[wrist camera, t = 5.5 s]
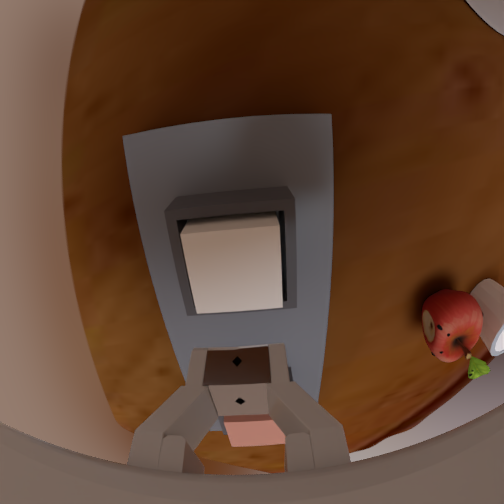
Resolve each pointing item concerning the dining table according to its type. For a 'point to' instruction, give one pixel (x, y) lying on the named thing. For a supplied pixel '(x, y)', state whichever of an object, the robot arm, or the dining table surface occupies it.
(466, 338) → the apple
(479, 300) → the white short cylinder
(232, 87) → the dining table surface
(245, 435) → the key brick
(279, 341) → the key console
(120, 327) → the dining table surface
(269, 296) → the key ivory
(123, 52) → the dining table surface
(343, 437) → the robot arm
